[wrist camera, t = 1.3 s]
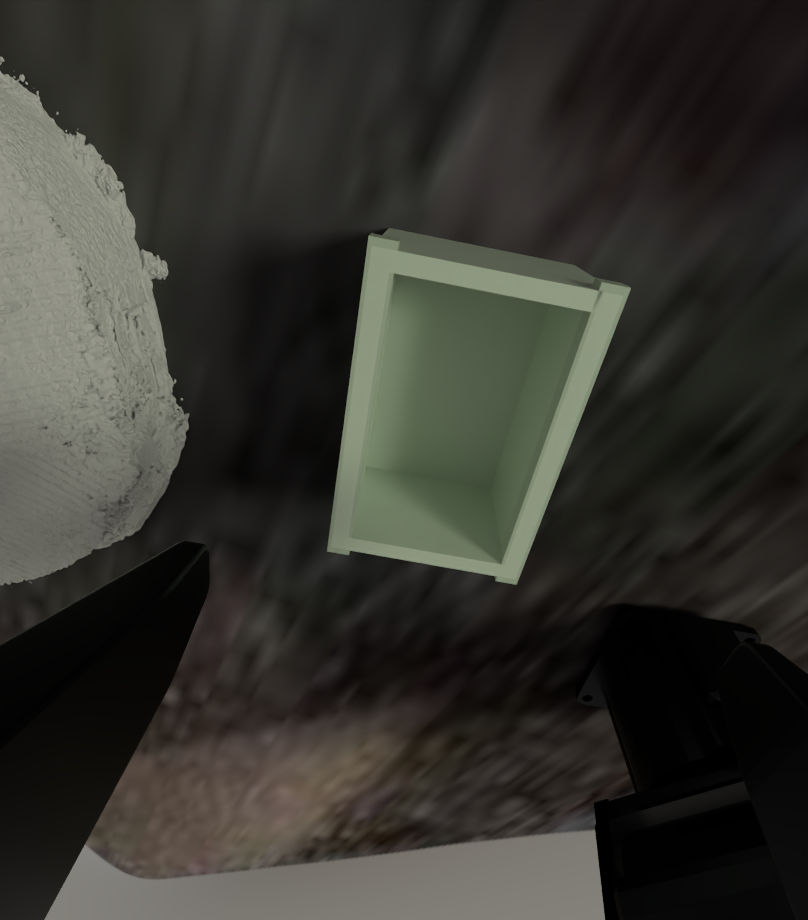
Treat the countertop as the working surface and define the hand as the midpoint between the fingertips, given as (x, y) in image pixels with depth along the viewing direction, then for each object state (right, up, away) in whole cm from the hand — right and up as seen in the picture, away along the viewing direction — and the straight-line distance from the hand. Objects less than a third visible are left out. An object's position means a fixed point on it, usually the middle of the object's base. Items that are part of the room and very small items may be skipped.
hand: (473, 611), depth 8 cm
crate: (+1, +6, +10) cm, 11 cm away
